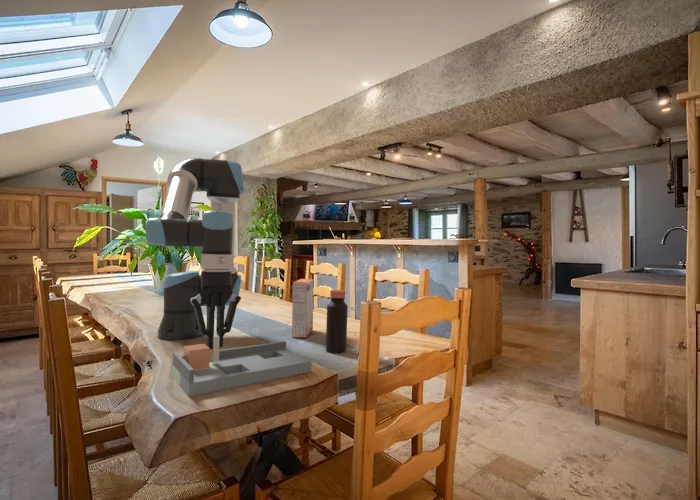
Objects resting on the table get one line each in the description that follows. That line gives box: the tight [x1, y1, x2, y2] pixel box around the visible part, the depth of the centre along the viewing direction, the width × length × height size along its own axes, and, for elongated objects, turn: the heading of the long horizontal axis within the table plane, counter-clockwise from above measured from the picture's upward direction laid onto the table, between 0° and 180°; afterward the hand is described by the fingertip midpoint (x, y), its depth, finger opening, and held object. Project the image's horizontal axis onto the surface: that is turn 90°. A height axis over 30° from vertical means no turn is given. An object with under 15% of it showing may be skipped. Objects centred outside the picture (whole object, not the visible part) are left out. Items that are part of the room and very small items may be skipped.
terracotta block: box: [183, 343, 210, 370], centre depth 99 cm, size 5×5×5 cm
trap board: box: [172, 340, 312, 397], centre depth 103 cm, size 16×32×6 cm, turn 127°
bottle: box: [325, 289, 349, 354], centre depth 128 cm, size 7×7×20 cm
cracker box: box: [291, 278, 315, 339], centre depth 150 cm, size 14×6×21 cm, turn 175°
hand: (214, 360), depth 101 cm, fingers closed
